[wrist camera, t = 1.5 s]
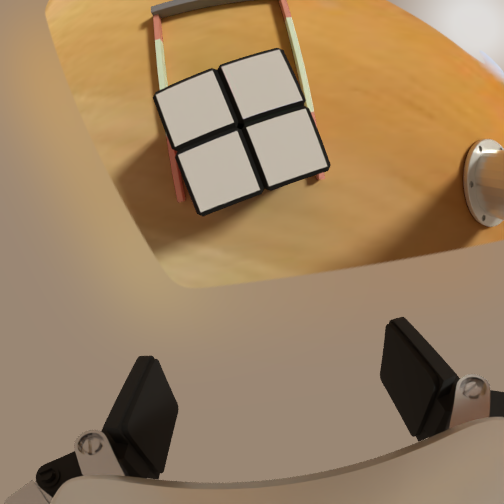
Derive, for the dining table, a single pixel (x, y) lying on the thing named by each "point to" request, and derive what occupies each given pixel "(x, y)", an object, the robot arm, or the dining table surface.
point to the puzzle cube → (240, 130)
